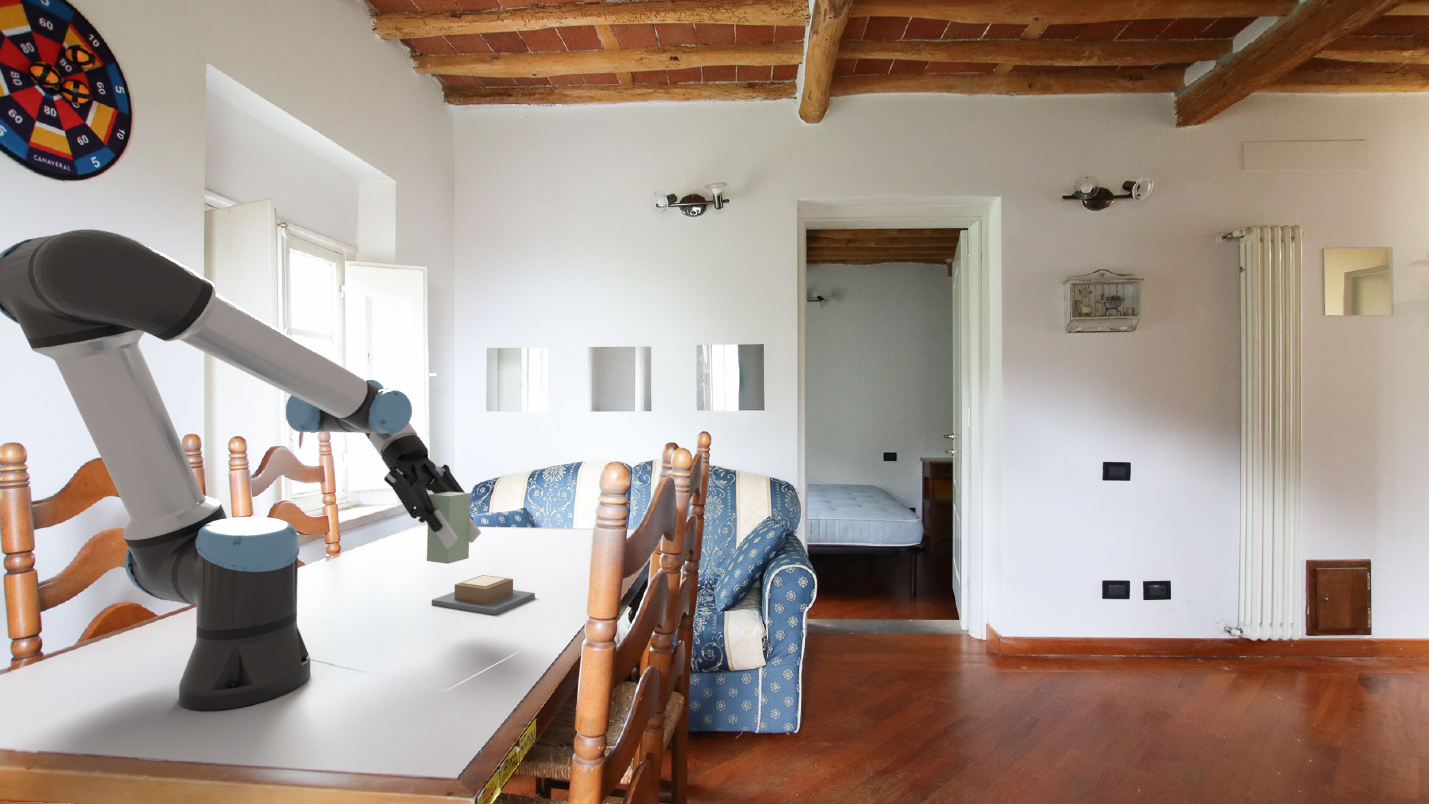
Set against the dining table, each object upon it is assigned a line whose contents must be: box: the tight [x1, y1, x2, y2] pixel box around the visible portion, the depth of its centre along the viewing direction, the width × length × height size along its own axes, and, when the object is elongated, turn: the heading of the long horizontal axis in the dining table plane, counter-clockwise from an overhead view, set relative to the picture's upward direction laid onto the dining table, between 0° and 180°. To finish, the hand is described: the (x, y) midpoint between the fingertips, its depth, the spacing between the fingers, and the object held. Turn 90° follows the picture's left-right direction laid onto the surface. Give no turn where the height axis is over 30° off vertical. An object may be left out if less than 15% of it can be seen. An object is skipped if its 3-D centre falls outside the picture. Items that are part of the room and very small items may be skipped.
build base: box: [431, 574, 536, 616], centre depth 131 cm, size 12×16×4 cm
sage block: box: [426, 492, 471, 565], centre depth 117 cm, size 5×5×12 cm
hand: (464, 540), depth 115 cm, fingers closed on sage block, 5 cm apart
